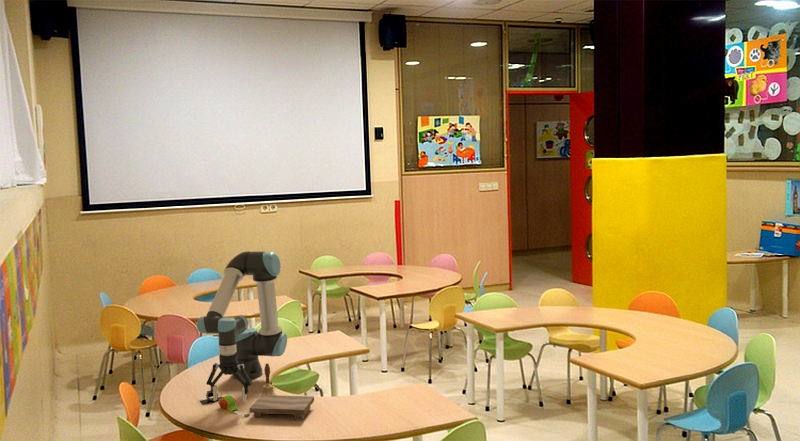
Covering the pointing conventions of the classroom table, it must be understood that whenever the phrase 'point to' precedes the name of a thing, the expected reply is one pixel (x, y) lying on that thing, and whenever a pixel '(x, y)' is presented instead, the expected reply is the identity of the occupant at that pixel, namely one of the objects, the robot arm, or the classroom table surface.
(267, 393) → the hand bell
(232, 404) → the toy measuring tape
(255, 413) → the walnut stand
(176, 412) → the classroom table surface
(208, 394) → the black arched bracket
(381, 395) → the classroom table surface
